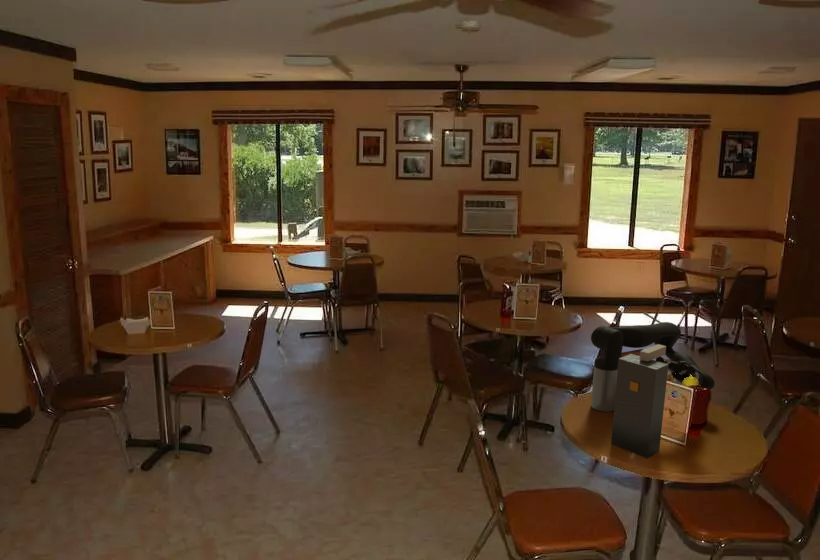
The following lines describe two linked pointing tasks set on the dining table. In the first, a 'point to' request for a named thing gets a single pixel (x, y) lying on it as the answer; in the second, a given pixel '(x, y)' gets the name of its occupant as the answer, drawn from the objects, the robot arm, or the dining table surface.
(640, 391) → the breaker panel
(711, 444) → the dining table surface
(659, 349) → the handle
